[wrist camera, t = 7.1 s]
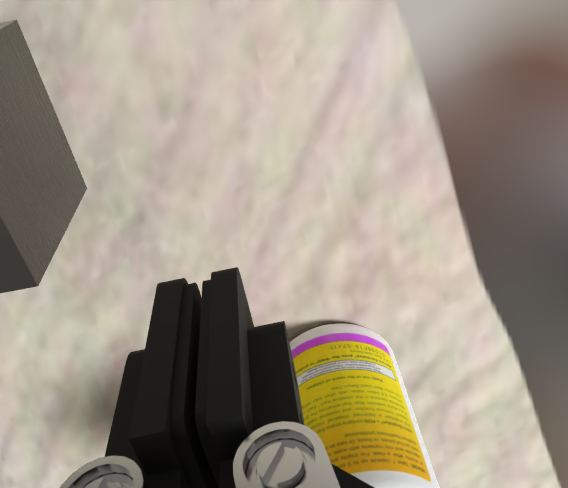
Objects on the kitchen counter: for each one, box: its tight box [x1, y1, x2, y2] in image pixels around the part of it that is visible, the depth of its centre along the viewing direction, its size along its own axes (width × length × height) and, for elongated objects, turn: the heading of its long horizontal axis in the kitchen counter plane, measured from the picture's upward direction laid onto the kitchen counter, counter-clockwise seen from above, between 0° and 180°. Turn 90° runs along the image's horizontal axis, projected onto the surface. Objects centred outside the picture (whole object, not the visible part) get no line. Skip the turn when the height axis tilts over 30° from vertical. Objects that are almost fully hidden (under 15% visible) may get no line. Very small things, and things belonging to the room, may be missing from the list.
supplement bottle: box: [290, 324, 439, 488], centre depth 24 cm, size 7×7×13 cm
